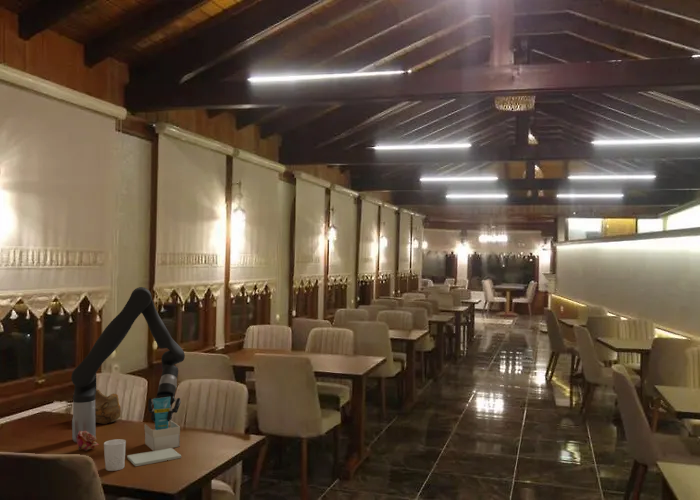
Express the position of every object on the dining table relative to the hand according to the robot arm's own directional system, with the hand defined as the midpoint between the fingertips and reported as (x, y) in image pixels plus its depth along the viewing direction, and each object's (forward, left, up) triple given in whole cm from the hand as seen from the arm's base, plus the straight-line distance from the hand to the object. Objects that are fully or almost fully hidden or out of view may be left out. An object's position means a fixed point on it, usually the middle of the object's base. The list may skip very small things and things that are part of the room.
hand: (160, 420), depth 271 cm
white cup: (-23, -19, -11) cm, 32 cm away
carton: (+1, +1, -11) cm, 11 cm away
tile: (-7, -15, -11) cm, 20 cm away
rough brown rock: (-15, +61, -11) cm, 64 cm away
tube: (+1, +2, -10) cm, 10 cm away
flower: (-27, +13, -11) cm, 32 cm away
